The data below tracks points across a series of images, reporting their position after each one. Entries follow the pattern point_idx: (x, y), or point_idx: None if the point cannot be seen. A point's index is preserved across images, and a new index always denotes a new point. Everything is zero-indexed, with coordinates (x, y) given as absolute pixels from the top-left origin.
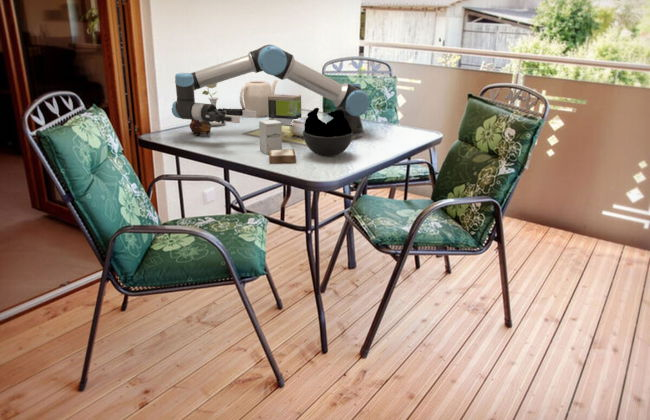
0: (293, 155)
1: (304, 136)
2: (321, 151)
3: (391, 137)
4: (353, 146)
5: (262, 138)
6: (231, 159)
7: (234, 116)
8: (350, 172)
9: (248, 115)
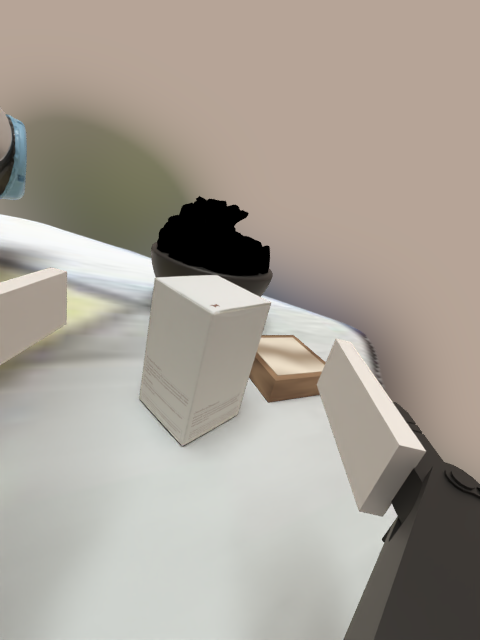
0: (294, 337)
1: (252, 286)
2: None
3: (16, 238)
4: (102, 278)
5: (228, 378)
6: None
7: (363, 365)
8: (287, 306)
9: (6, 345)
